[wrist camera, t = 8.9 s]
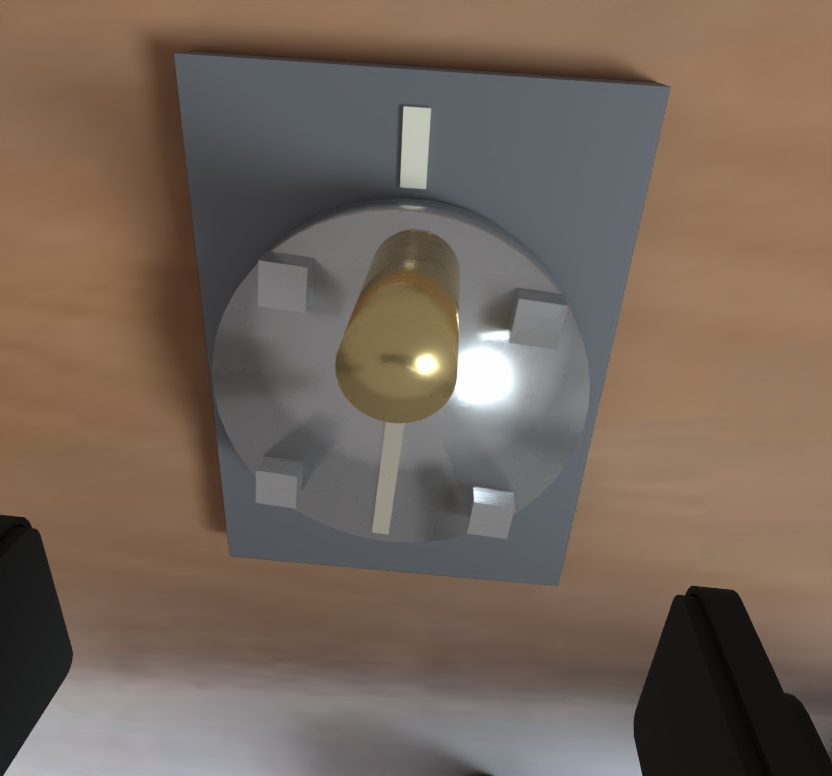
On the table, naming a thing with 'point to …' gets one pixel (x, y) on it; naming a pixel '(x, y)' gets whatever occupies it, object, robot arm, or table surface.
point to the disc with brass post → (401, 372)
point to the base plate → (419, 179)
